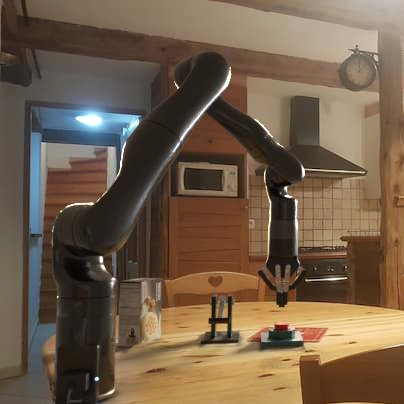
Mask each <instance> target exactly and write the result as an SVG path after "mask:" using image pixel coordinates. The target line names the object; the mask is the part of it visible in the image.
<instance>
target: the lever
mask: <svg viewBox="0 0 404 404" xmlns="http://www.w3.org/2000/svg"><path fill="white" fill-rule="evenodd" d="M227 308H228V295H217V310H218V311H217V318H211V317H208V321H207V325H211V324H216V325H222V324H223V325H227V324H230V317H224V310H227Z"/></svg>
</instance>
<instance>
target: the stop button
mask: <svg viewBox="0 0 404 404" xmlns="http://www.w3.org/2000/svg"><path fill="white" fill-rule="evenodd" d="M273 327H274V330H278V331H284V330H289V327H290V323H289V322H286V321H279V322H278V321H277V322H275V323H274V325H273Z"/></svg>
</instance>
